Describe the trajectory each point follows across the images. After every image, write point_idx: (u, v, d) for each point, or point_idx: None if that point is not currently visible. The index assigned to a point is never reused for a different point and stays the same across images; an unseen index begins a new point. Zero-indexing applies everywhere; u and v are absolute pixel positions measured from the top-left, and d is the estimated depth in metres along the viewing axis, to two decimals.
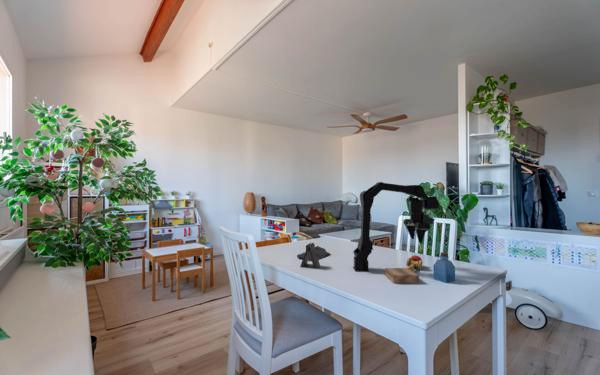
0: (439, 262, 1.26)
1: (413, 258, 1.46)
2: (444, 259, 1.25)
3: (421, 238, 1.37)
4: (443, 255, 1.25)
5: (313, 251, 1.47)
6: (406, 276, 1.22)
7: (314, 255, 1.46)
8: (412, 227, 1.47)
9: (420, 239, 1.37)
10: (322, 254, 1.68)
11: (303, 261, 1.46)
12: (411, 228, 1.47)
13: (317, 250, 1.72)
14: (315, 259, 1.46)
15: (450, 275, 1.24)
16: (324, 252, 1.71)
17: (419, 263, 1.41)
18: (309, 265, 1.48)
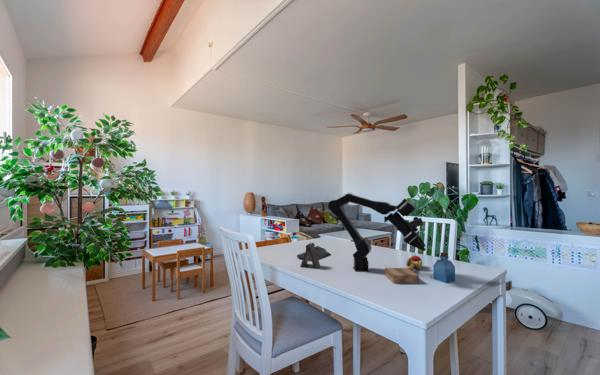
0: (439, 262, 1.26)
1: (413, 258, 1.46)
2: (444, 259, 1.25)
3: (421, 246, 1.25)
4: (443, 255, 1.25)
5: (313, 251, 1.47)
6: (406, 276, 1.22)
7: (314, 255, 1.46)
8: None
9: (421, 248, 1.26)
10: (322, 254, 1.68)
11: (303, 261, 1.46)
12: None
13: (317, 250, 1.71)
14: (315, 259, 1.46)
15: (450, 275, 1.24)
16: (324, 252, 1.71)
17: (419, 263, 1.41)
18: (309, 265, 1.48)
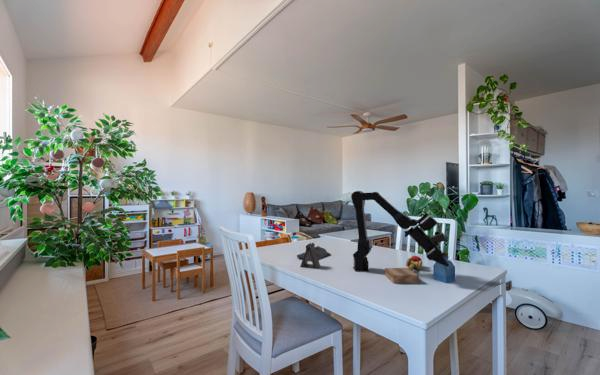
0: None
1: (413, 258, 1.46)
2: None
3: (444, 262, 1.23)
4: (443, 255, 1.26)
5: (313, 251, 1.47)
6: (406, 276, 1.22)
7: (314, 255, 1.46)
8: None
9: (444, 263, 1.23)
10: (322, 254, 1.67)
11: (303, 261, 1.46)
12: None
13: (317, 250, 1.71)
14: (315, 259, 1.46)
15: (450, 275, 1.24)
16: (324, 252, 1.71)
17: (419, 263, 1.40)
18: (309, 265, 1.48)
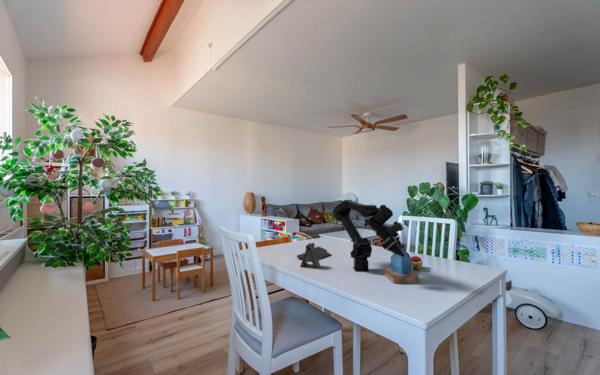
0: None
1: (413, 259, 1.45)
2: None
3: (400, 252, 1.22)
4: (400, 246, 1.26)
5: (313, 251, 1.47)
6: (406, 276, 1.22)
7: (314, 255, 1.46)
8: None
9: (400, 254, 1.23)
10: (322, 255, 1.66)
11: (303, 261, 1.46)
12: None
13: (318, 250, 1.70)
14: (315, 259, 1.46)
15: (406, 266, 1.25)
16: (325, 253, 1.70)
17: (418, 264, 1.40)
18: (309, 265, 1.48)
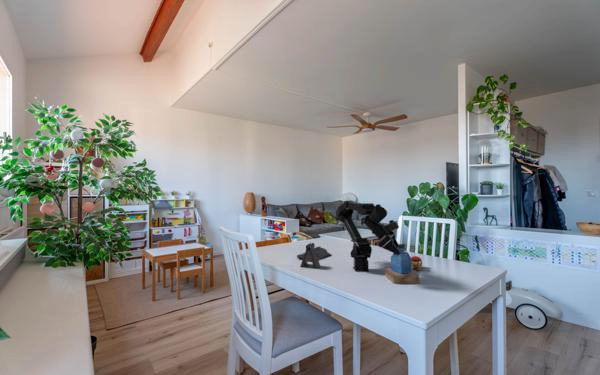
0: None
1: (413, 259, 1.45)
2: (400, 250, 1.26)
3: (396, 250, 1.23)
4: (400, 246, 1.26)
5: (313, 251, 1.47)
6: (406, 276, 1.22)
7: (314, 255, 1.46)
8: None
9: (396, 252, 1.23)
10: (322, 255, 1.66)
11: (303, 261, 1.46)
12: None
13: (318, 251, 1.70)
14: (315, 259, 1.46)
15: (406, 266, 1.25)
16: (325, 253, 1.70)
17: (418, 264, 1.39)
18: (309, 265, 1.48)
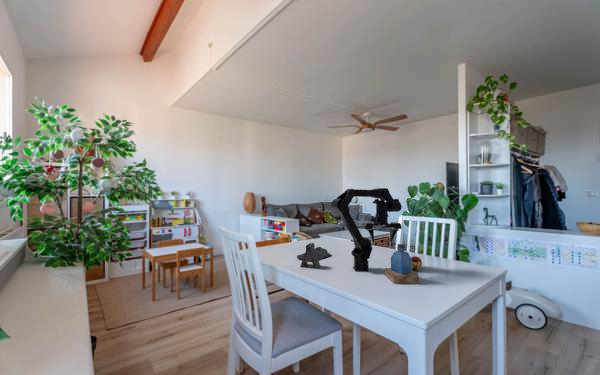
0: (396, 253, 1.27)
1: (413, 259, 1.44)
2: (400, 250, 1.26)
3: None
4: (400, 246, 1.26)
5: (313, 251, 1.47)
6: (406, 276, 1.22)
7: (314, 255, 1.46)
8: None
9: None
10: (323, 255, 1.65)
11: (303, 261, 1.46)
12: None
13: (318, 251, 1.69)
14: (315, 259, 1.46)
15: (406, 266, 1.25)
16: (325, 253, 1.69)
17: (418, 264, 1.39)
18: (309, 265, 1.48)
